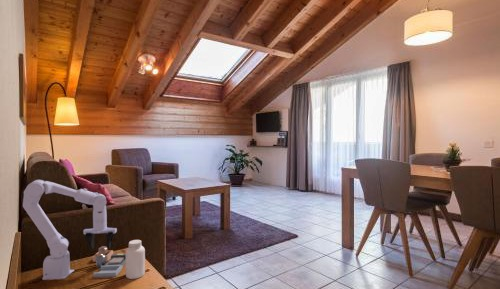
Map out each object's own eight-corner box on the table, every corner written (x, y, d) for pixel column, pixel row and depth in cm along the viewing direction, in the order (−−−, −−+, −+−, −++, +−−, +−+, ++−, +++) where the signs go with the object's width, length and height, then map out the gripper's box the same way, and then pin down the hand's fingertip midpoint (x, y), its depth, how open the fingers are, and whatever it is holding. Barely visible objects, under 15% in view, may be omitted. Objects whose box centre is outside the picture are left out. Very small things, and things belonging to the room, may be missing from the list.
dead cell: (97, 260, 141) (96, 248, 141) (101, 257, 145) (100, 245, 145) (105, 259, 142) (105, 248, 141) (109, 256, 146) (108, 245, 145)
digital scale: (122, 268, 133) (121, 261, 133) (103, 269, 132) (103, 262, 132) (129, 259, 143) (129, 253, 143) (112, 260, 142) (112, 253, 142)
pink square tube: (92, 262, 140) (92, 256, 140) (99, 256, 147) (99, 250, 147) (107, 261, 140) (107, 255, 140) (113, 256, 147) (113, 250, 147)
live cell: (94, 269, 132) (94, 256, 132) (98, 265, 136) (98, 253, 136) (103, 268, 133) (103, 256, 133) (107, 265, 137) (106, 252, 137)
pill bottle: (138, 280, 121) (137, 245, 121) (121, 278, 123) (121, 244, 122) (148, 271, 129) (148, 239, 129) (133, 270, 130) (132, 238, 130)
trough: (93, 277, 124) (93, 273, 124) (101, 269, 131) (101, 265, 131) (116, 276, 124) (115, 272, 124) (122, 268, 132) (122, 264, 132)
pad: (120, 263, 134) (119, 261, 134) (108, 264, 134) (108, 262, 134) (124, 259, 140) (124, 257, 140) (113, 259, 139) (113, 257, 139)
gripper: (79, 222, 130) (80, 252, 130) (112, 221, 131) (112, 251, 131) (87, 218, 137) (88, 246, 137) (118, 217, 138) (118, 245, 138)
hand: (100, 248), depth 134 cm, fingers open, 7 cm apart
